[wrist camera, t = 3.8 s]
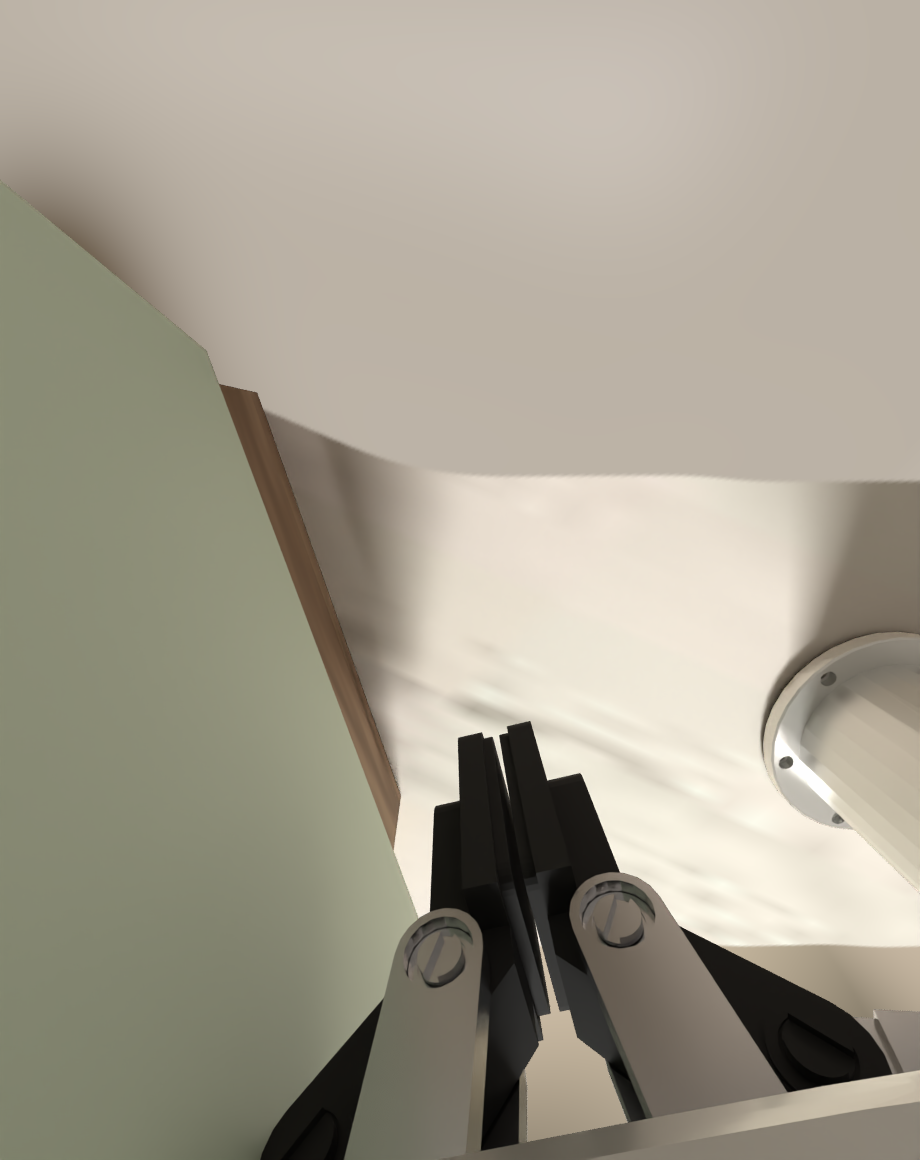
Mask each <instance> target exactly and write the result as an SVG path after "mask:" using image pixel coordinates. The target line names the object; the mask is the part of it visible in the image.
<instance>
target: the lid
mask: <svg viewBox="0 0 920 1160" xmlns="http://www.w3.org/2000/svg"><path fill="white" fill-rule="evenodd" d="M416 920H418V916H417V913H416V910H415V907H414V905H413V902H412V899H411V897H410V894H409V891H408V889H407V886H406V883H405V881H404V878H403V875H402V873H401V870H400V867H399V865H398V862H397V859H396V857H395V854H394V851H393V849H392V846H391V843H390V841H389V838H388V835H387V833H386V830H385V827H384V825H383V822H382V819H381V816H380V814H379V811H378V808H377V806H376V803H375V800H374V798H373V795H372V792H371V790H370V787H369V784H368V782H367V779H366V776H365V774H364V771H363V768H362V766H361V763H360V760H359V758H358V755H357V752H356V750H355V747H354V744H353V742H352V739H351V736H350V734H349V731H348V728H347V726H346V723H345V720H344V718H343V715H342V712H341V709H340V707H339V704H338V701H337V699H336V696H335V693H334V691H333V688H332V685H331V683H330V680H329V677H328V675H327V672H326V669H325V667H324V664H323V661H322V659H321V656H320V653H319V651H318V648H317V645H316V643H315V640H314V637H313V635H312V632H311V629H310V627H309V624H308V621H307V619H306V616H305V613H304V611H303V608H302V605H301V602H300V600H299V597H298V594H297V592H296V589H295V586H294V584H293V581H292V578H291V576H290V573H289V570H288V568H287V565H286V562H285V560H284V557H283V554H282V552H281V549H280V546H279V544H278V541H277V538H276V536H275V533H274V530H273V528H272V525H271V522H270V520H269V517H268V514H267V512H266V509H265V506H264V503H263V501H262V498H261V495H260V493H259V490H258V487H257V485H256V482H255V479H254V477H253V474H252V471H251V469H250V466H249V463H248V461H247V458H246V455H245V453H244V450H243V447H242V445H241V442H240V439H239V437H238V434H237V431H236V429H235V426H234V423H233V421H232V418H231V415H230V413H229V410H228V407H227V405H226V402H225V399H224V396H223V394H222V391H221V388H220V386H219V383H218V380H217V378H216V375H215V372H214V370H213V367H212V364H211V362H210V359H209V356H208V354H207V351H206V350H205V349H204V348H203V347H201V346H200V345H199V344H198V343H197V342H195V341H194V340H193V339H192V338H191V337H189V336H188V335H187V334H186V333H185V332H183V331H182V330H181V329H180V328H179V327H177V326H176V325H175V324H174V323H172V322H171V321H170V320H169V319H168V318H166V317H165V316H164V315H163V314H162V313H160V312H159V311H158V310H157V309H156V308H154V307H153V306H152V305H151V304H149V303H148V302H147V301H146V300H145V299H144V298H142V297H141V296H140V295H139V294H137V293H136V292H135V291H134V290H133V289H131V288H130V287H129V286H128V285H127V284H125V283H124V282H123V281H122V280H121V279H119V278H118V277H117V276H116V275H115V274H113V273H112V272H111V271H110V270H108V269H107V268H106V267H105V266H104V265H103V264H101V263H100V262H99V261H98V260H96V259H95V258H94V257H93V256H92V255H90V254H89V253H88V252H87V251H85V250H84V249H83V248H82V247H81V246H80V245H78V244H77V243H76V242H75V241H74V240H72V239H71V238H70V237H69V236H67V235H66V234H65V233H64V232H63V231H61V230H60V229H59V228H58V227H57V226H55V225H54V224H53V223H52V222H50V221H49V220H48V219H47V218H46V217H45V216H43V215H42V214H41V213H40V212H39V211H37V210H36V209H35V208H34V207H32V206H31V205H30V204H29V203H28V202H26V201H25V200H24V199H23V198H22V197H20V196H19V195H18V194H17V193H16V192H14V191H13V190H12V189H11V188H10V187H8V186H7V185H6V184H5V183H3V182H2V181H1V180H0V1160H260V1159H261V1155H262V1152H263V1150H264V1148H265V1145H266V1143H267V1141H268V1139H269V1137H270V1135H271V1133H272V1131H273V1129H274V1128H275V1126H276V1125H277V1123H278V1122H279V1121H280V1119H281V1118H282V1116H283V1115H284V1114H285V1112H286V1111H287V1110H288V1108H289V1107H290V1106H291V1105H292V1104H293V1103H294V1102H295V1100H296V1099H297V1098H298V1097H299V1096H300V1095H301V1093H302V1092H303V1091H304V1090H305V1089H306V1088H307V1086H308V1085H309V1084H310V1083H311V1082H312V1081H313V1079H314V1078H315V1077H316V1076H317V1075H318V1074H319V1072H320V1071H321V1070H322V1069H323V1068H324V1067H325V1065H326V1064H327V1063H328V1062H329V1061H330V1060H331V1059H332V1057H333V1056H334V1055H335V1054H336V1053H337V1052H338V1050H339V1049H340V1048H341V1047H342V1046H343V1045H344V1043H345V1042H346V1041H347V1040H348V1039H349V1038H350V1036H351V1035H352V1034H353V1033H354V1032H355V1031H356V1029H357V1028H358V1027H359V1026H360V1025H361V1024H362V1022H363V1021H364V1020H365V1019H366V1018H367V1017H368V1016H369V1014H370V1013H371V1012H372V1011H373V1010H374V1009H375V1007H376V1006H377V1005H378V1004H379V1003H380V1002H381V1000H382V999H383V998H384V995H385V991H386V987H387V983H388V979H389V975H390V971H391V967H392V963H393V959H394V955H395V951H396V949H397V946H398V944H399V941H400V939H401V937H402V936H403V935H404V933H405V932H406V930H407V929H408V928H409V927H410V926H411V925H412V924H413V923H414V922H415V921H416Z"/></svg>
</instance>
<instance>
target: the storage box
mask: <svg viewBox="0 0 920 1160" xmlns="http://www.w3.org/2000/svg"><path fill="white" fill-rule="evenodd" d="M219 386H220V388H221V391H222V394H223V396H224V399H225V402H226V405H227V407H228V410H229V413H230V415H231V418H232V421H233V423H234V426H235V429H236V431H237V434H238V437H239V439H240V442H241V445H242V447H243V450H244V453H245V455H246V458H247V461H248V463H249V466H250V469H251V471H252V474H253V477H254V479H255V482H256V485H257V487H258V490H259V493H260V495H261V498H262V501H263V503H264V506H265V509H266V512H267V514H268V517H269V520H270V522H271V525H272V528H273V530H274V533H275V536H276V538H277V541H278V544H279V546H280V549H281V552H282V554H283V557H284V560H285V562H286V565H287V568H288V570H289V573H290V576H291V578H292V581H293V584H294V586H295V589H296V592H297V594H298V597H299V600H300V602H301V605H302V608H303V611H304V613H305V616H306V619H307V621H308V624H309V627H310V629H311V632H312V635H313V637H314V640H315V643H316V645H317V648H318V651H319V653H320V656H321V659H322V661H323V664H324V667H325V669H326V672H327V675H328V677H329V680H330V683H331V685H332V688H333V691H334V693H335V696H336V699H337V701H338V704H339V707H340V709H341V712H342V715H343V718H344V720H345V723H346V726H347V728H348V731H349V734H350V736H351V739H352V742H353V744H354V747H355V750H356V752H357V755H358V758H359V760H360V763H361V766H362V768H363V771H364V774H365V776H366V779H367V782H368V784H369V787H370V790H371V792H372V795H373V798H374V800H375V803H376V806H377V808H378V811H379V814H380V816H381V819H382V822H383V825H384V827H385V830H386V833H387V835H388V838H389V841H390V843H391V846H392V849H393V850H394V842H395V835H396V828H397V821H398V813H399V806H400V799H401V795H400V793H399V790H398V787H397V784H396V781H395V779H394V776H393V773H392V770H391V767H390V765H389V762H388V759H387V756H386V753H385V750H384V748H383V745H382V742H381V739H380V736H379V734H378V731H377V728H376V725H375V722H374V720H373V717H372V714H371V711H370V708H369V706H368V703H367V700H366V697H365V694H364V691H363V689H362V686H361V683H360V680H359V677H358V675H357V672H356V669H355V666H354V663H353V661H352V658H351V655H350V652H349V649H348V647H347V644H346V641H345V638H344V635H343V632H342V630H341V627H340V624H339V621H338V618H337V616H336V613H335V610H334V607H333V604H332V602H331V599H330V596H329V593H328V590H327V588H326V585H325V582H324V579H323V576H322V573H321V571H320V568H319V565H318V562H317V559H316V557H315V554H314V551H313V548H312V545H311V543H310V540H309V537H308V534H307V531H306V529H305V526H304V523H303V520H302V517H301V514H300V512H299V509H298V506H297V503H296V500H295V498H294V495H293V492H292V489H291V486H290V484H289V481H288V478H287V475H286V472H285V470H284V467H283V464H282V461H281V458H280V455H279V453H278V450H277V447H276V444H275V441H274V439H273V436H272V433H271V430H270V427H269V425H268V422H267V419H266V416H265V413H264V411H263V408H262V405H261V402H260V399H259V397H258V394H257V393H256V392H252V391H247V390H243V389H238V388H234V387H229V386H225V385H221V384H219Z"/></svg>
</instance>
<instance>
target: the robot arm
mask: <svg viewBox="0 0 920 1160" xmlns="http://www.w3.org/2000/svg"><path fill="white" fill-rule="evenodd" d="M507 729H508V733H506V734H502V735H499V737H500V743H501V749H502V755H503V761H504V767H505V773H506V779H507V785H508V791H509V796H508V792H507V788H506V785H505V781H504V777H503V774H502V770H501V766H500V762H499V759H498V755H497V751H496V748H495V744H494V740H493V737H489V738H485V739H484V737H483V734H482V732H481V733H477V734H473V735H468V736H464V737H460V738H458V759H459V794H460V801H456V802H452V803H447V804H443V805H439V806H436V807H435V810H434V826H433V851H432V876H431V900H430V912H429V913H427V914H425V915H424V916H422V917H420V918H419V919H418V920H416V921H415V922H414V923H413V924H412V925H411V926H410V927H409V928H408V929H407V930H406V932H405V933H404V935H403V936H402V937H401V939H400V941H399V944H398V946H397V949H396V951H395V955H394V959H393V963H392V967H391V971H390V975H389V979H388V983H387V987H386V991H385V995H384V998H383V999H382V1000H381V1002H380V1003H379V1004H378V1005H377V1006H376V1007H375V1009H374V1010H373V1011H372V1012H371V1013H370V1014H369V1016H368V1017H367V1018H366V1019H365V1020H364V1021H363V1022H362V1024H361V1025H360V1026H359V1027H358V1028H357V1029H356V1031H355V1032H354V1033H353V1034H352V1035H351V1036H350V1038H349V1039H348V1040H347V1041H346V1042H345V1043H344V1045H343V1046H342V1047H341V1048H340V1049H339V1050H338V1052H337V1053H336V1054H335V1055H334V1056H333V1057H332V1059H331V1060H330V1061H329V1062H328V1063H327V1064H326V1065H325V1067H324V1068H323V1069H322V1070H321V1071H320V1072H319V1074H318V1075H317V1076H316V1077H315V1078H314V1079H313V1081H312V1082H311V1083H310V1084H309V1085H308V1086H307V1088H306V1089H305V1090H304V1091H303V1092H302V1093H301V1095H300V1096H299V1097H298V1098H297V1099H296V1100H295V1102H294V1103H293V1104H292V1105H291V1106H290V1107H289V1108H288V1110H287V1111H286V1112H285V1114H284V1115H283V1116H282V1118H281V1119H280V1121H279V1122H278V1123H277V1125H276V1126H275V1128H274V1129H273V1131H272V1133H271V1135H270V1137H269V1139H268V1141H267V1143H266V1145H265V1148H264V1150H263V1152H262V1155H261V1159H260V1160H920V1012H912V1011H893V1010H876V1009H874V1018H859V1017H852V1016H851V1015H850V1014H848V1013H846V1012H845V1011H844V1010H842V1009H840V1008H839V1007H837V1006H836V1005H834V1004H833V1003H831V1002H829V1001H827V1000H825V999H823V998H821V997H819V996H817V995H815V994H813V993H811V992H809V991H807V990H805V989H803V988H801V987H799V986H797V985H795V984H793V983H791V982H789V981H787V980H785V979H783V978H782V977H780V976H777V975H775V974H773V973H772V972H770V971H768V970H766V969H764V968H761V967H760V966H757V965H756V964H753V963H752V962H750V961H748V960H745V959H744V958H741V957H740V956H737V955H736V954H734V953H732V952H730V951H728V950H726V949H724V948H722V947H720V946H718V945H716V944H714V943H712V942H710V941H708V940H706V939H704V938H702V937H700V936H698V935H696V934H694V933H692V932H690V931H688V930H686V929H684V928H682V927H680V926H679V925H678V924H677V922H676V921H675V919H674V918H673V916H672V915H671V913H670V912H669V910H668V908H667V907H666V905H665V904H664V902H663V901H662V899H661V898H660V896H659V895H658V894H657V893H656V892H655V891H654V889H653V888H652V887H651V886H650V885H649V884H647V883H646V882H644V881H642V880H641V879H639V878H638V877H635V876H632V875H628V874H625V873H620V872H619V869H618V866H617V864H616V861H615V859H614V856H613V854H612V851H611V849H610V846H609V843H608V841H607V838H606V836H605V833H604V831H603V828H602V826H601V823H600V820H599V818H598V815H597V813H596V810H595V808H594V805H593V802H592V800H591V797H590V795H589V792H588V790H587V787H586V785H585V782H584V779H583V777H582V775H581V774H580V773H579V774H575V775H570V776H566V777H561V778H557V779H553V780H548V781H547V778H546V775H545V771H544V768H543V764H542V761H541V757H540V754H539V750H538V746H537V743H536V739H535V736H534V732H533V729H532V725H531V722H530V721H528V722H524V723H520V724H515V725H511V726H507ZM763 751H764V762H765V765H766V769H767V772H768V775H769V777H770V779H771V781H772V782H773V784H774V786H775V787H776V789H777V791H778V792H779V793H780V794H781V795H782V796H783V797H784V798H785V799H786V800H787V802H788V803H789V804H790V805H791V806H792V807H793V808H795V809H796V810H797V811H798V812H800V813H801V814H802V815H803V816H805V817H807V818H809V819H811V820H813V821H815V822H817V823H819V824H822V825H826V826H829V827H833V828H839V829H851V830H855V831H856V832H857V833H858V834H859V835H860V836H861V837H862V838H863V839H864V840H865V841H866V842H867V843H868V844H869V845H870V846H871V847H872V848H873V849H874V850H875V851H876V852H877V853H879V854H880V855H881V856H882V857H883V858H884V859H885V860H886V861H887V862H888V863H889V864H890V865H891V866H892V867H893V868H894V869H895V870H896V871H897V872H898V873H899V874H900V875H901V876H902V877H903V878H904V879H905V880H906V881H907V882H908V883H909V884H910V885H911V886H912V887H913V888H914V889H915V890H916V891H918V892H919V893H920V635H919V634H914V633H905V632H886V633H875V634H870V635H866V636H862V637H858V638H854V639H852V640H849V641H847V642H845V643H842V644H840V645H838V646H835V647H833V648H831V649H830V650H828V651H826V652H825V653H823V654H822V655H820V656H818V657H817V658H815V659H814V660H812V661H811V662H810V663H809V664H808V665H807V666H805V667H804V668H803V669H802V670H801V671H800V672H798V673H797V674H796V675H795V677H794V678H793V679H792V680H791V681H790V682H789V684H788V685H787V686H786V687H785V688H784V689H783V691H782V693H781V694H780V696H779V698H778V699H777V701H776V703H775V704H774V706H773V708H772V710H771V713H770V716H769V719H768V721H767V724H766V728H765V734H764V741H763ZM509 797H510V800H509ZM534 919H535V920H534ZM535 923H536V925H535ZM536 927H537V930H538V934H539V938H540V941H541V945H542V948H543V952H544V955H545V959H546V963H547V967H548V970H549V974H550V978H551V981H552V985H553V988H554V992H555V996H556V1000H557V1003H558V1006H559V1010H560V1011H565V1010H570V1012H571V1016H572V1019H573V1023H574V1027H575V1030H576V1034H577V1038H579V1039H580V1040H581V1041H583V1042H584V1043H585V1044H586V1045H588V1046H589V1047H590V1048H592V1049H593V1050H594V1051H596V1052H597V1053H598V1054H600V1055H601V1056H602V1057H603V1058H605V1061H606V1064H607V1068H608V1072H609V1075H610V1077H611V1080H612V1083H613V1085H614V1088H615V1090H616V1093H617V1096H618V1098H619V1101H620V1103H621V1106H622V1109H623V1111H624V1114H625V1116H626V1119H627V1121H628V1123H625V1124H619V1125H614V1126H609V1127H604V1128H598V1129H593V1130H588V1131H582V1132H577V1133H572V1134H567V1135H562V1136H557V1137H551V1138H546V1139H541V1140H536V1141H531V1142H527V1082H526V1074H525V1067H526V1066H527V1064H528V1062H529V1061H530V1059H531V1057H532V1056H533V1054H534V1052H535V1051H536V1049H537V1047H538V1045H539V1043H538V1041H541V1040H543V1035H542V1028H541V1022H540V1016H541V1015H546V1014H550V1013H551V1012H550V1005H549V999H548V993H547V988H546V982H545V976H544V971H543V965H542V959H541V954H540V948H539V942H538V937H537V931H536Z"/></svg>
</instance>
